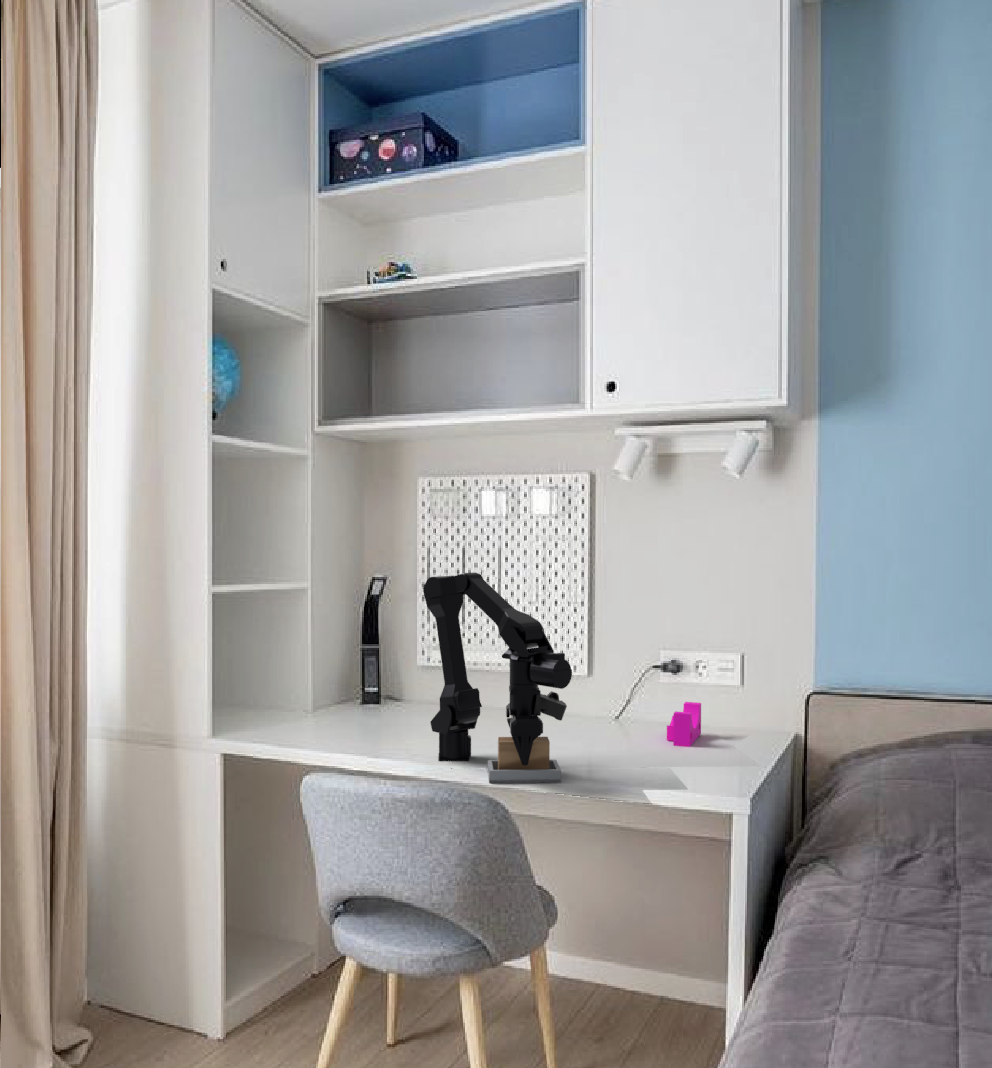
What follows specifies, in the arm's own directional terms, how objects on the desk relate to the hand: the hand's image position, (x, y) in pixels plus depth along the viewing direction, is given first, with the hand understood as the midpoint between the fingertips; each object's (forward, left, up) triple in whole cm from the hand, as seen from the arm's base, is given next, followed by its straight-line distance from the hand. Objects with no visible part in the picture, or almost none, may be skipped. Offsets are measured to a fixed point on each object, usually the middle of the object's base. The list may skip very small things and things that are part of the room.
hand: (523, 760), depth 197 cm
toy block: (+40, +34, -4) cm, 53 cm away
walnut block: (0, 0, -3) cm, 3 cm away
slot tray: (0, 0, -3) cm, 3 cm away
